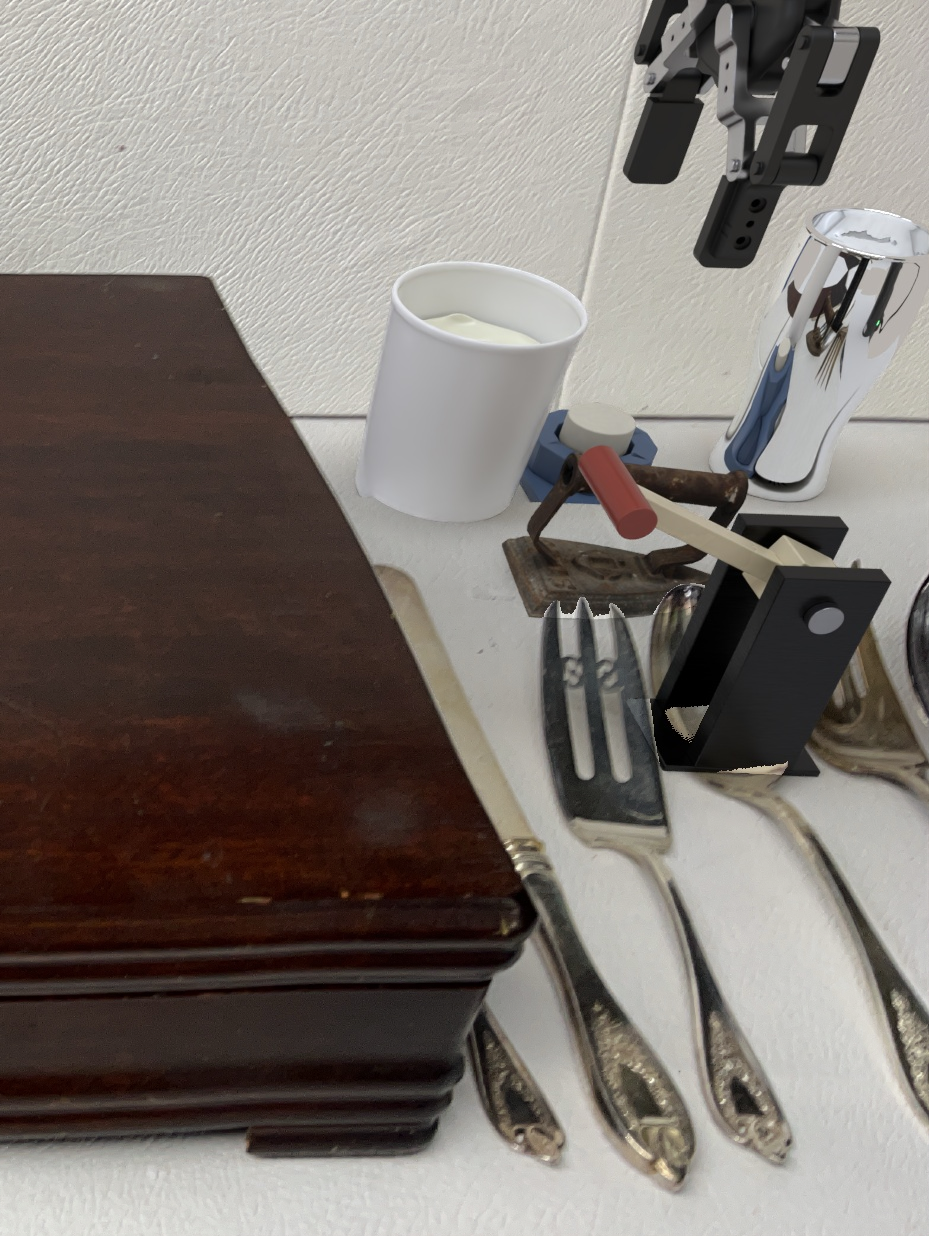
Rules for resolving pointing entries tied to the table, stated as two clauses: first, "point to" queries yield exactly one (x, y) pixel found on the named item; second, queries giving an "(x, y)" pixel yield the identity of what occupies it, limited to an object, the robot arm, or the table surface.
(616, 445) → the button
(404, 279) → the candle holder
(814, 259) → the beer glass
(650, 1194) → the table surface
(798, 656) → the switch bracket
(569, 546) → the clothes iron
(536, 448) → the button block
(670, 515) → the switch lever
